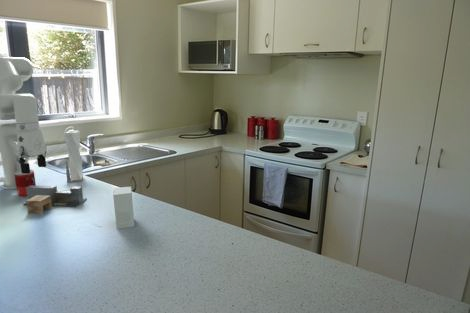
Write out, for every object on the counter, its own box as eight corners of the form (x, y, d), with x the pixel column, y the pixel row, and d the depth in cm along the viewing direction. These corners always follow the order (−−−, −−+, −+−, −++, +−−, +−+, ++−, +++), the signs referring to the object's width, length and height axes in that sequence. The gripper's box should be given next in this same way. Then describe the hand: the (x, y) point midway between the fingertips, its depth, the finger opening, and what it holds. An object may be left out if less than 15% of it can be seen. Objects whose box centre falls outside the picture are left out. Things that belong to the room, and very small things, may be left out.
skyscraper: (69, 178, 186) (63, 126, 180) (85, 176, 189) (79, 125, 182) (66, 182, 179) (60, 128, 172) (83, 181, 181) (77, 128, 175)
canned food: (31, 197, 157) (27, 174, 155) (13, 197, 157) (9, 174, 155) (40, 191, 165) (37, 169, 162) (24, 191, 165) (20, 169, 162)
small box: (116, 220, 131) (113, 187, 128) (134, 218, 133) (131, 186, 130) (116, 229, 123) (112, 194, 121) (134, 226, 125) (131, 192, 122)
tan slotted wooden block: (28, 213, 138) (26, 200, 137) (38, 207, 145) (36, 195, 143) (42, 214, 138) (40, 201, 137) (52, 208, 144) (50, 195, 143)
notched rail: (23, 205, 147) (21, 189, 146) (37, 198, 156) (35, 183, 154) (76, 207, 145) (74, 191, 143) (87, 199, 154) (85, 184, 152)
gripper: (21, 130, 125) (28, 176, 128) (51, 124, 141) (56, 164, 145) (2, 130, 125) (9, 175, 129) (33, 124, 142) (39, 164, 146)
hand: (34, 169), depth 137 cm, fingers open, 9 cm apart
